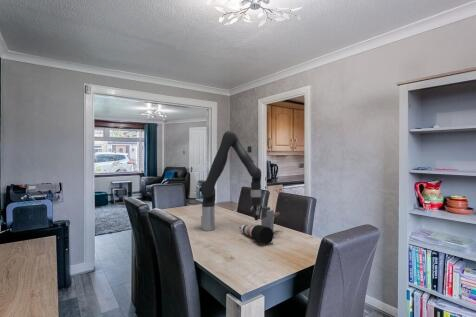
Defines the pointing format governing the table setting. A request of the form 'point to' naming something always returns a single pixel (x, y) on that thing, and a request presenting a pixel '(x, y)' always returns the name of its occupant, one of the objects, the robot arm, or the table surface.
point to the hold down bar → (264, 212)
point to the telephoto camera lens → (258, 233)
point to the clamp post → (269, 220)
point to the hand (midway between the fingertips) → (256, 220)
